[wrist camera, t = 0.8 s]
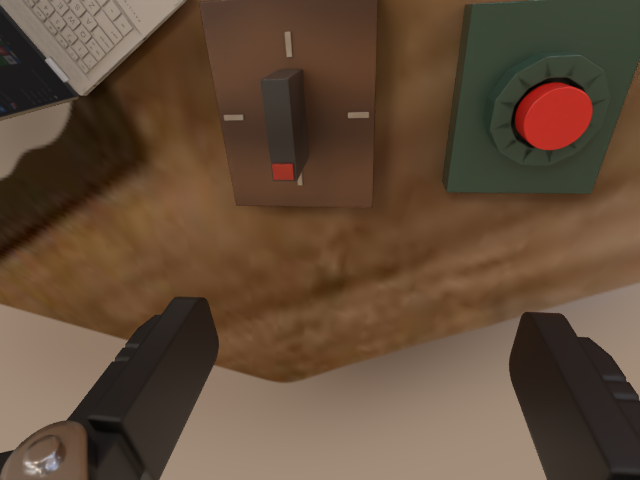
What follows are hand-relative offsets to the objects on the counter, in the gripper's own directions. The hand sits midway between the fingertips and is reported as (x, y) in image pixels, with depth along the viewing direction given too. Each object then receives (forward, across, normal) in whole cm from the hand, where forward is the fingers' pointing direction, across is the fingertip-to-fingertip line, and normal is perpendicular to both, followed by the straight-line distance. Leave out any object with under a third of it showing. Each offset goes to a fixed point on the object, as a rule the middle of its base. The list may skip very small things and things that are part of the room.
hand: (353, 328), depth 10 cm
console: (+22, +5, -1) cm, 22 cm away
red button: (+18, -11, -1) cm, 21 cm away
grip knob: (+19, +5, -1) cm, 19 cm away
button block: (+22, -11, -1) cm, 24 cm away
